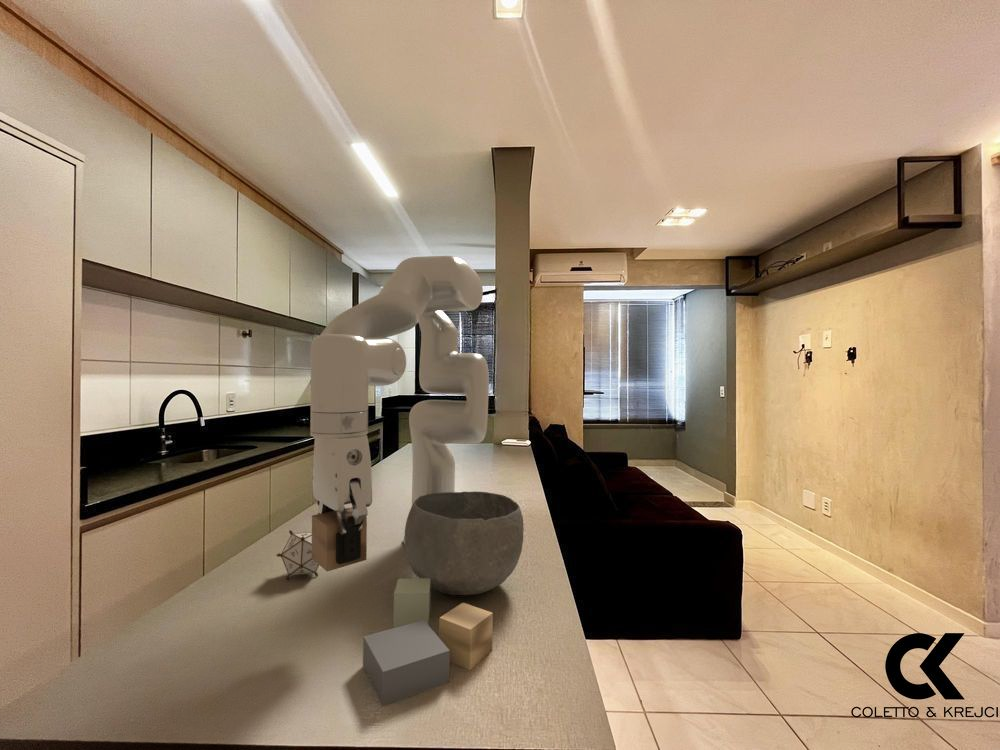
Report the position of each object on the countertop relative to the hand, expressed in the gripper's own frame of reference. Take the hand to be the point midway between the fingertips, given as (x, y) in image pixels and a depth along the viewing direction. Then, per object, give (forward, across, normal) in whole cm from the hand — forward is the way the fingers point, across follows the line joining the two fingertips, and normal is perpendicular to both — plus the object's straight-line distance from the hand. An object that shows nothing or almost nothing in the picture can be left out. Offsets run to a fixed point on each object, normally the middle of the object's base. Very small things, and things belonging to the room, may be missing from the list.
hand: (339, 552), depth 62 cm
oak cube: (+12, -15, -11) cm, 22 cm away
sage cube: (+12, -3, -10) cm, 16 cm away
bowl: (+13, +1, -22) cm, 26 cm away
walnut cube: (+1, 0, 0) cm, 1 cm away
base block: (+12, -14, -3) cm, 18 cm away
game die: (+12, +23, -3) cm, 27 cm away
